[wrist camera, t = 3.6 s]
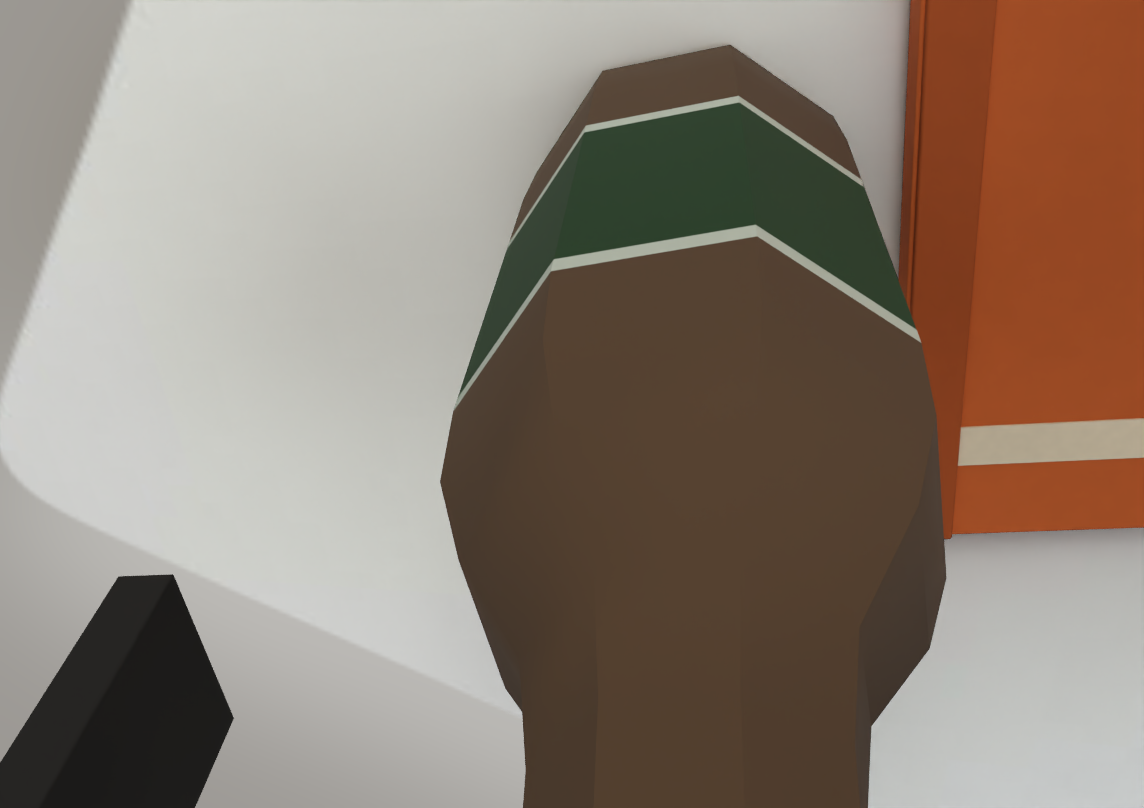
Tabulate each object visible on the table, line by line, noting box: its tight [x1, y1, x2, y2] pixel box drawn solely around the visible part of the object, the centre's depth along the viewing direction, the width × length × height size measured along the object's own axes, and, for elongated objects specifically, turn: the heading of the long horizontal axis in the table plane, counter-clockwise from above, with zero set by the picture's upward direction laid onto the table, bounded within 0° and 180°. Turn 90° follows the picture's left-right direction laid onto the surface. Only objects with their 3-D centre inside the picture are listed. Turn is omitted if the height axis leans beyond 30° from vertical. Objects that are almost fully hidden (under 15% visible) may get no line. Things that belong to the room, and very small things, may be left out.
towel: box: [898, 0, 1144, 539], centre depth 25 cm, size 20×8×1 cm, turn 7°
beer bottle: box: [440, 45, 946, 808], centre depth 16 cm, size 8×8×24 cm
